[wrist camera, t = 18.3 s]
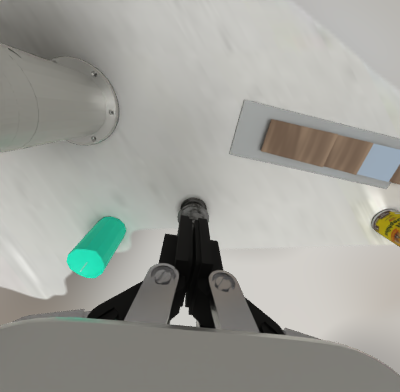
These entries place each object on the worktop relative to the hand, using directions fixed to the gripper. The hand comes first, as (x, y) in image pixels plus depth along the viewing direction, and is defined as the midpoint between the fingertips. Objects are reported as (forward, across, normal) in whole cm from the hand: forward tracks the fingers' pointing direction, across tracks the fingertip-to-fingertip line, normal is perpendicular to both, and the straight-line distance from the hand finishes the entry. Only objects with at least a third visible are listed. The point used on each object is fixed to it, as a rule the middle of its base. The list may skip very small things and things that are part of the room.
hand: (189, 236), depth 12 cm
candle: (+25, +14, +18) cm, 34 cm away
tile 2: (+23, -18, -6) cm, 30 cm away
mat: (+24, -23, -6) cm, 34 cm away
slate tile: (+23, -24, -6) cm, 34 cm away
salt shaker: (+25, -2, +11) cm, 27 cm away
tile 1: (+24, -12, -6) cm, 27 cm away
